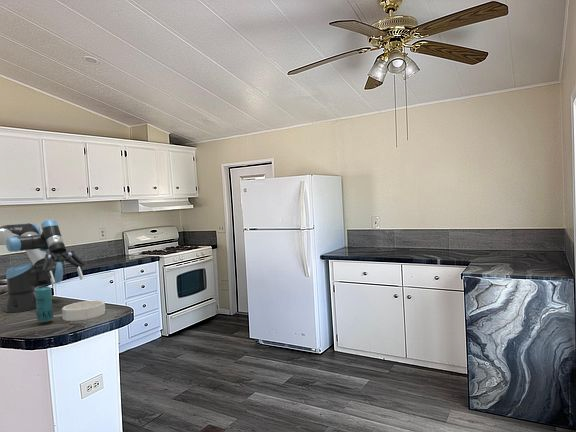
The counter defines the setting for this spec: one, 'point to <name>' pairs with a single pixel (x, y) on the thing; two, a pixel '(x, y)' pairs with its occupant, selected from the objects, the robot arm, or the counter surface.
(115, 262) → the counter surface
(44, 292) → the beverage bottle
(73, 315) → the bowl
